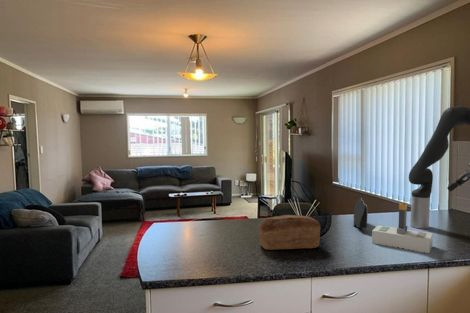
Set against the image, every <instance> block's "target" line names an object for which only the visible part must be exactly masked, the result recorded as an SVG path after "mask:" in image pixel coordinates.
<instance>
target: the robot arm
mask: <svg viewBox="0 0 470 313" xmlns="http://www.w3.org/2000/svg"><path fill="white" fill-rule="evenodd" d="M465 125H469V126H470V107H468V106H464V105H460V106H459V105H457V106H450V107H447V108H446V109H445V110H444V111H443V112H442V114H441V116H440V118H439V121H438V123H437V126H436V128H435V130H434V131H433V133H432V135H431V137H430V139H429V141H428V143H427V144H426V146H425V148H424V150H423V152H422V153H421V155H420V157H419V158H418V159H417V161H416V162H415V164H414V165H413V166H412V168H411V169H410V171H409V172H408V173H409V174H408V180H409V181H408V182H409V183H410V184H413V185H418V186H419V185H420V186H419V187H418V188H416V189H414V190H412V191H411V203H410V204H411V205H410V223H409V224H410V226H411V227H412V228H414V229H415V228H416V229H420V230H421V229H424V230H425V229H429V228H430V210H431V209H430V207H431V194H432V191H433V190H432V189H433V183H434V182H433V181H434V176H433V171H432V170H431V169H430V167H431V166H432V165H434V164H436V163H437V162H439V161H440V160H442V158H443V157H444V156H445V154H446V152H448V149H449V146H450V145H449V139H448V138H449V134H450V133H451V131H452V130H453V129H454V128H455V127H460V126H461V127H462V126H465ZM467 165H468V166H469V167H470V162H468V163H467ZM469 181H470V170H468V169H467V170H465V171H464V172H463V173H462V174H461V175H459V176H458V178H456V179H455V180H454V181H453V182H452V183H451V184H450V185H448V186H447V187H446V188H447V190H448V191H449V192H453V191H454V190H455V189H457V188H458V187H461V186H462V185H465V184H466V183H468V182H469Z"/></svg>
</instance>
